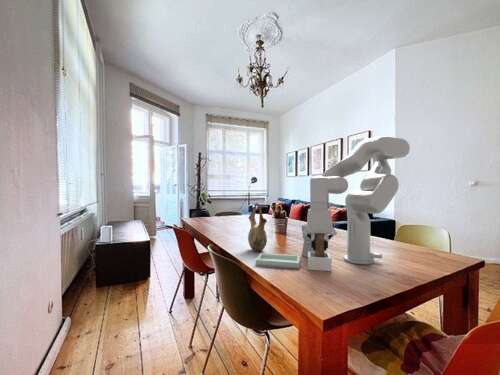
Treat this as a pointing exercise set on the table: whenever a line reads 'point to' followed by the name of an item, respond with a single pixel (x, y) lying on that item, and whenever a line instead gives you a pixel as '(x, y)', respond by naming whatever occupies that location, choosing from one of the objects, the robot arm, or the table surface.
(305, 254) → the coffee maker
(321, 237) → the dowel
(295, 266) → the tray
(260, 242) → the ceramic vessel
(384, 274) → the table surface
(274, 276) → the table surface
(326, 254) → the white square ring
